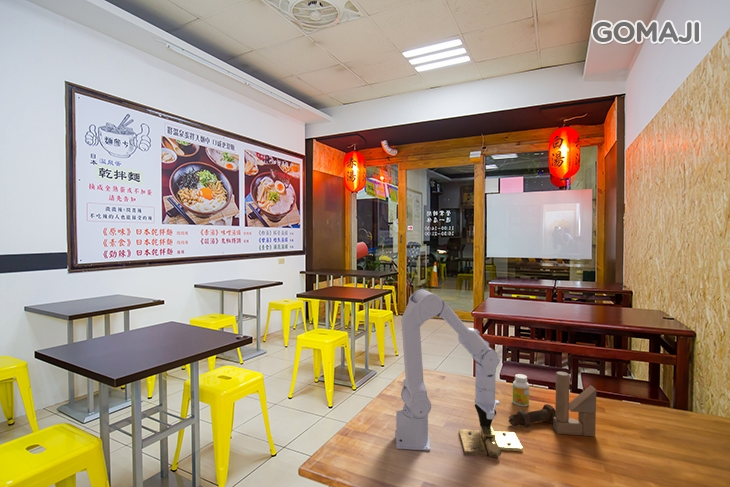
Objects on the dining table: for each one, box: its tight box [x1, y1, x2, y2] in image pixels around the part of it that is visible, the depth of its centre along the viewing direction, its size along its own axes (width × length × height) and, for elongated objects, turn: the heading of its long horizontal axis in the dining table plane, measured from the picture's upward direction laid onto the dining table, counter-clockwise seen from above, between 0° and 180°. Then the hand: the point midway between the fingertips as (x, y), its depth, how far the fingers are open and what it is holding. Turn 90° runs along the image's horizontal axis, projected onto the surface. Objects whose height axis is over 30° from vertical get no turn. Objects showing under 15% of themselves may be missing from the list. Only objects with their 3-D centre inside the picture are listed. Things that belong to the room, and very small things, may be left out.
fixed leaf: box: [458, 428, 502, 459], centre depth 104 cm, size 9×12×3 cm
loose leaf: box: [480, 425, 524, 452], centre depth 106 cm, size 10×8×3 cm
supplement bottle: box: [512, 373, 530, 407], centre depth 129 cm, size 5×5×10 cm
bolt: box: [508, 403, 555, 428], centre depth 116 cm, size 6×5×15 cm
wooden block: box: [552, 371, 597, 437], centre depth 110 cm, size 4×11×18 cm, turn 82°
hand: (485, 430), depth 110 cm, fingers closed
